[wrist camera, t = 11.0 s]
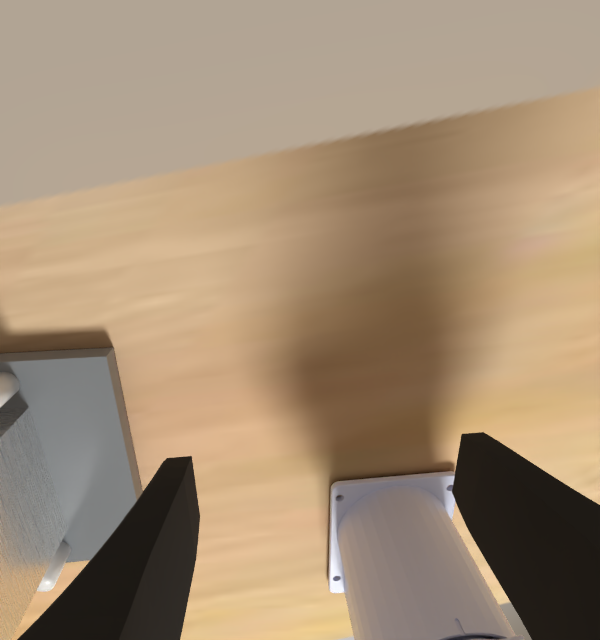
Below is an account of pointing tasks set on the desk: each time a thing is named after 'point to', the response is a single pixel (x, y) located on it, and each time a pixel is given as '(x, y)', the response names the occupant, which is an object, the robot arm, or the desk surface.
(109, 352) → the pin tray
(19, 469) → the block
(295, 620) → the desk surface
